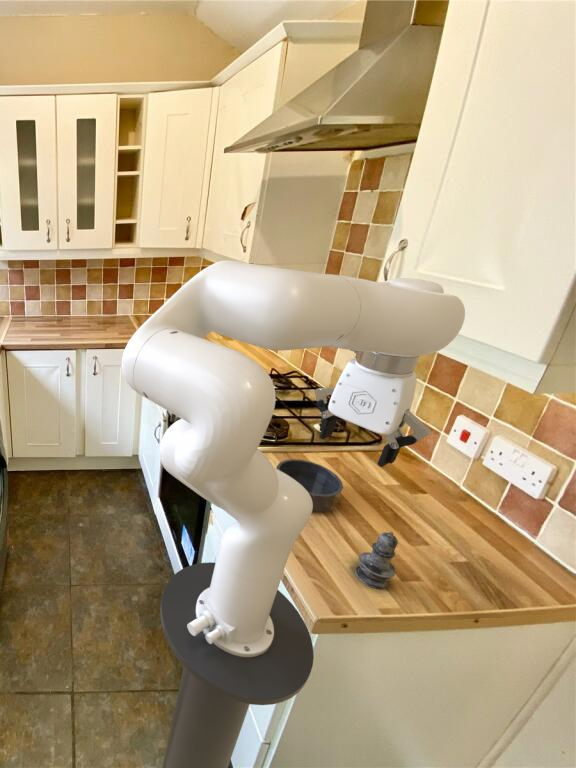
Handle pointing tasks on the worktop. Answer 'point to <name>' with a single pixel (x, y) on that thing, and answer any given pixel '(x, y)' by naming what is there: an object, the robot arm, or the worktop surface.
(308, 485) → the dark grey bowl
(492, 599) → the worktop surface
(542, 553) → the worktop surface
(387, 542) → the dark grey chess piece
